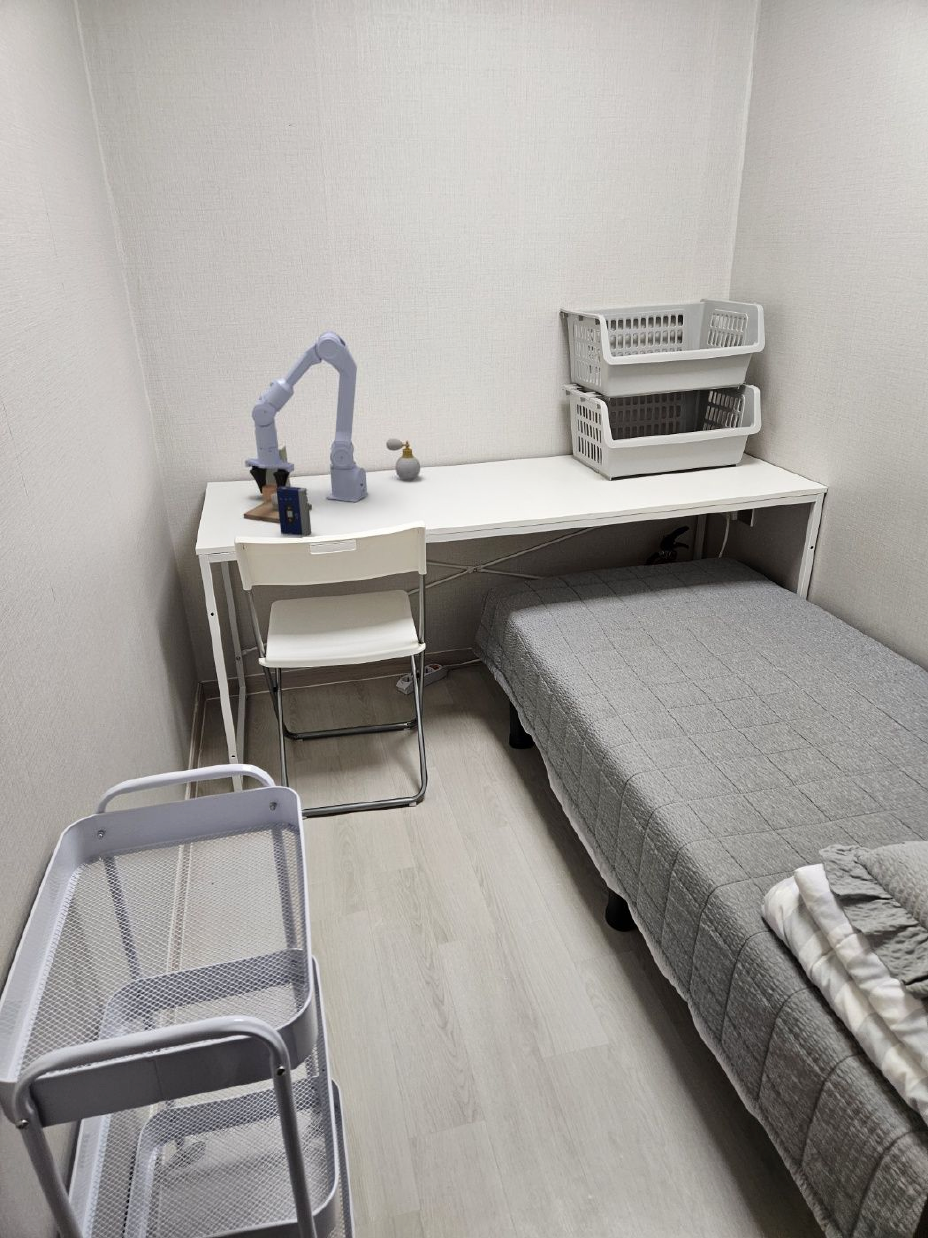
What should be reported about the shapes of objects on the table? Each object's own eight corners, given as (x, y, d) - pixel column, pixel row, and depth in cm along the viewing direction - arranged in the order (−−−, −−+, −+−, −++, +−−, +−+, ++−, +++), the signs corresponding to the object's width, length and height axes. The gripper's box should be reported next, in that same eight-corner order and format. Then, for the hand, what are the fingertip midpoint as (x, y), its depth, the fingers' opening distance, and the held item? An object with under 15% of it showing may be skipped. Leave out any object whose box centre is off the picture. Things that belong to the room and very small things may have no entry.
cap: (286, 496, 234) (284, 484, 233) (276, 502, 230) (274, 490, 228) (270, 494, 236) (268, 482, 234) (260, 500, 232) (258, 488, 230)
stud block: (312, 508, 226) (310, 490, 223) (286, 524, 215) (284, 505, 212) (270, 503, 230) (268, 484, 227) (244, 518, 219) (241, 499, 216)
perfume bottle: (422, 481, 247) (421, 441, 242) (390, 483, 245) (388, 443, 240) (418, 474, 254) (417, 435, 248) (386, 476, 252) (385, 437, 246)
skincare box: (290, 485, 243) (286, 445, 238) (286, 490, 240) (282, 449, 234) (269, 485, 244) (265, 444, 238) (265, 489, 240) (260, 448, 235)
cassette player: (280, 533, 209) (275, 487, 203) (284, 530, 211) (279, 484, 205) (308, 535, 208) (304, 489, 202) (311, 532, 210) (307, 486, 204)
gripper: (236, 447, 225) (242, 495, 231) (282, 452, 221) (287, 501, 227) (251, 440, 231) (256, 487, 237) (296, 445, 226) (300, 493, 233)
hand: (272, 493), depth 232 cm, fingers closed on cap, 5 cm apart
